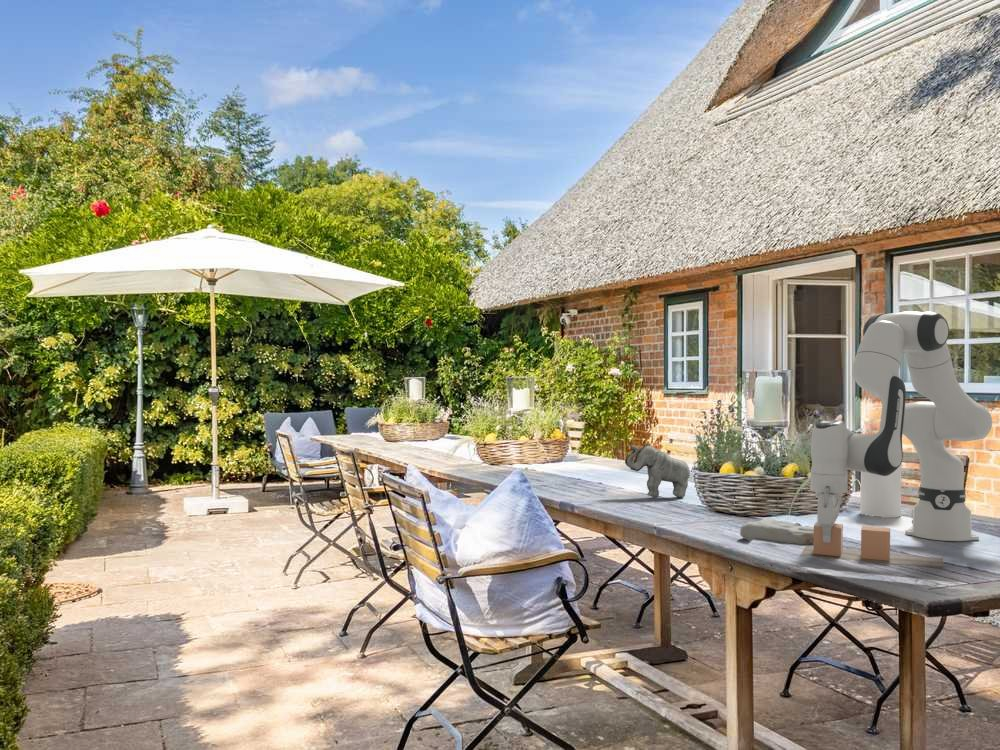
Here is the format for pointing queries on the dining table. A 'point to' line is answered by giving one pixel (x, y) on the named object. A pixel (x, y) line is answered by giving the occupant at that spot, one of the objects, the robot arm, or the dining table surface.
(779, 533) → the stone
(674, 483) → the grey animal figurine
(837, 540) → the peach block
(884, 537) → the wooden block
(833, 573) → the dining table surface
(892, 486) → the cylinder
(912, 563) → the board
